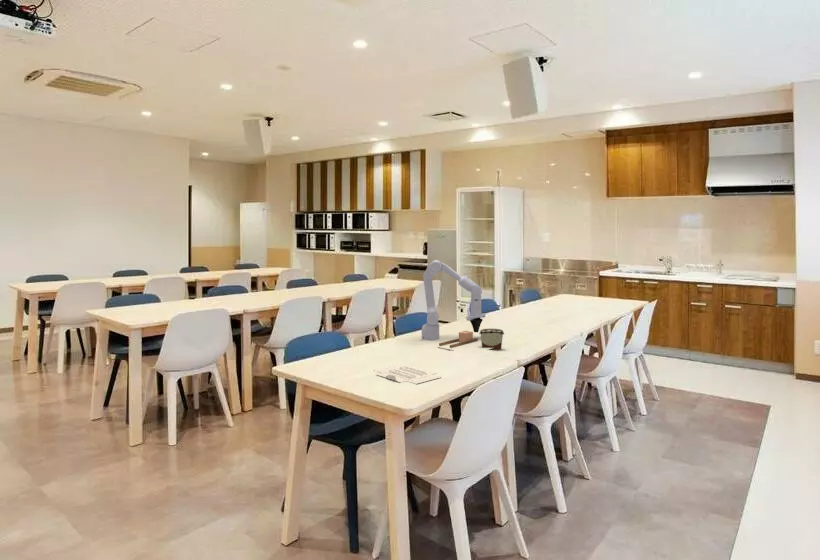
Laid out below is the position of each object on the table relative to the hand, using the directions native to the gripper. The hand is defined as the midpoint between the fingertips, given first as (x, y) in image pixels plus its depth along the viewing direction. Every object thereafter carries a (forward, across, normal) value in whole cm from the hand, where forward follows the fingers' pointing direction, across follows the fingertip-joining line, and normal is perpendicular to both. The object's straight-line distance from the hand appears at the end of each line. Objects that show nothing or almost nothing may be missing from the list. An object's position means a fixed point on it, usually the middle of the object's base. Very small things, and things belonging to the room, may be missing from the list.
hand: (476, 332), depth 289 cm
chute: (+5, -15, 0) cm, 16 cm away
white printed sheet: (+6, -73, -18) cm, 75 cm away
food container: (+5, -10, -17) cm, 20 cm away
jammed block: (+4, -9, 0) cm, 10 cm away
